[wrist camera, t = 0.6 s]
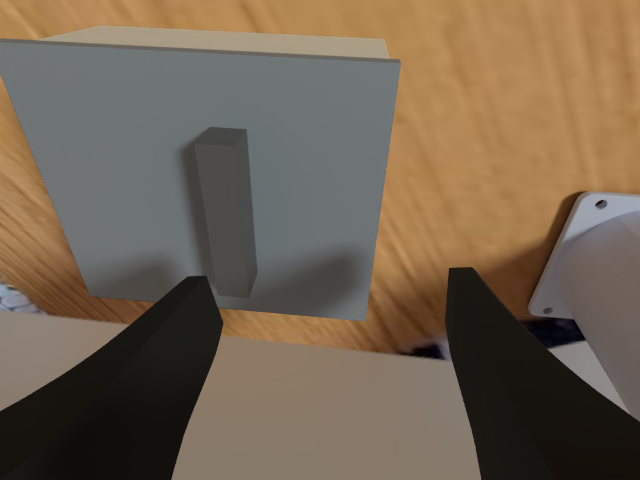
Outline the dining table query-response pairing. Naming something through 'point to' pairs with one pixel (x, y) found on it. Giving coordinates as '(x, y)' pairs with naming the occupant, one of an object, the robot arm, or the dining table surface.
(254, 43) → the box
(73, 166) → the lid
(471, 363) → the robot arm
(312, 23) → the dining table surface
